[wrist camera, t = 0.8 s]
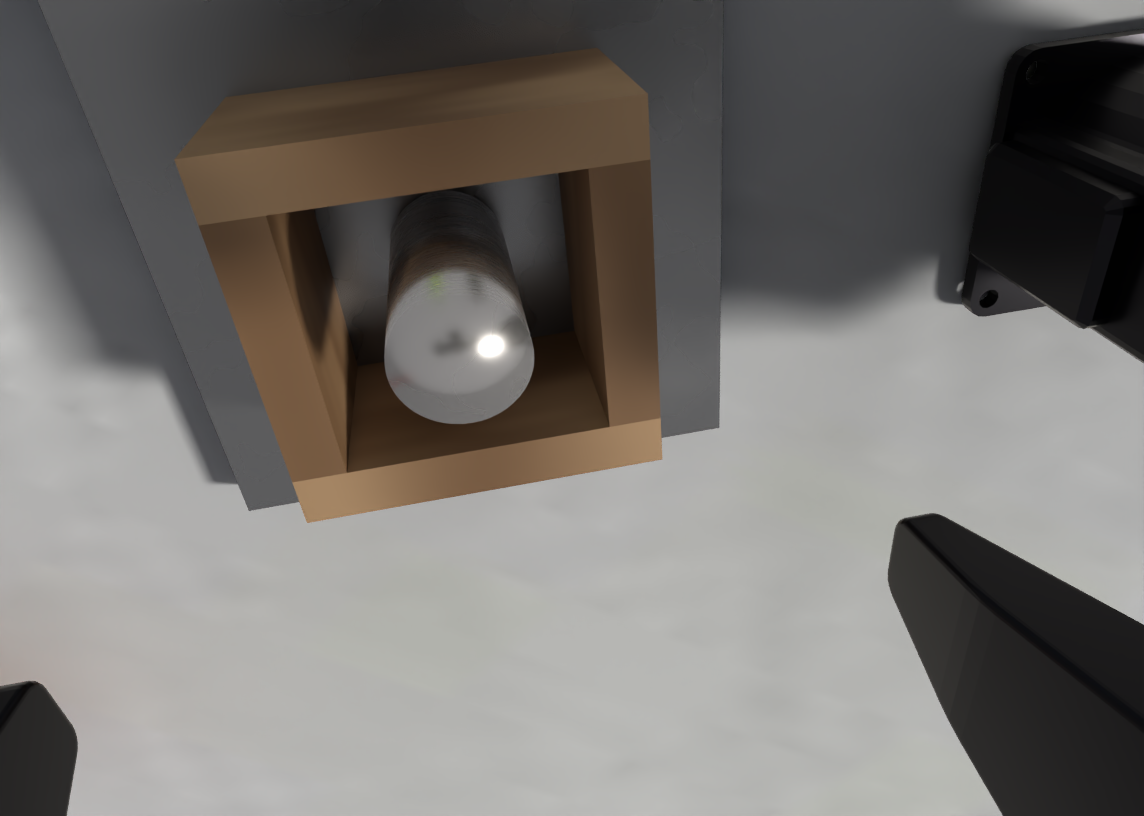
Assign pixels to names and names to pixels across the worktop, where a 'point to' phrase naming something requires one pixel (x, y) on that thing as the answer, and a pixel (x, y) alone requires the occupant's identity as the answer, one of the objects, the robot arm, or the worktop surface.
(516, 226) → the stake base
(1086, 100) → the robot arm
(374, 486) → the open wooden box frame
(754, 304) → the worktop surface
